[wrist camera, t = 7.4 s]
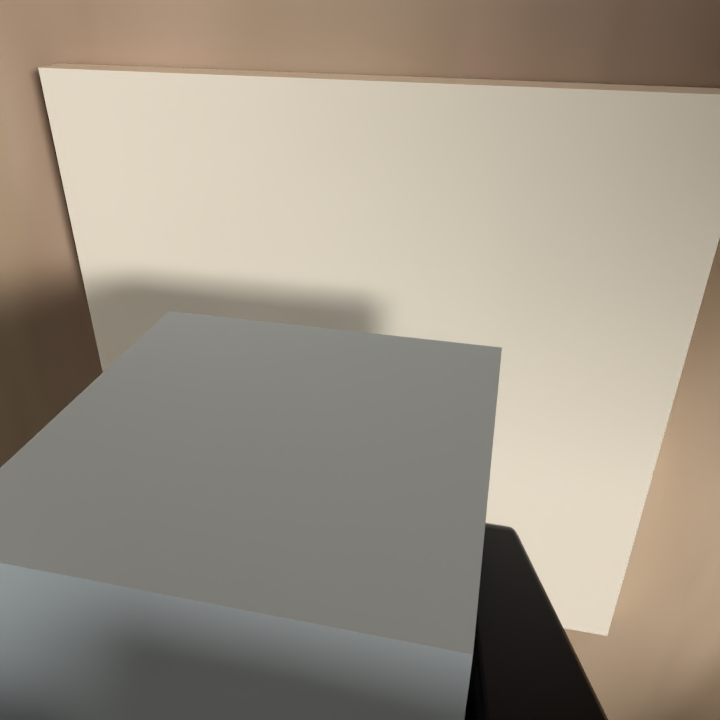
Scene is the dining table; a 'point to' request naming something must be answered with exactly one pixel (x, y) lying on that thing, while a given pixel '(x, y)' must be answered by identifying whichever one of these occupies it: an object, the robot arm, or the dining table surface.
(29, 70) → the dining table surface
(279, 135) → the coaster
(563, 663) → the robot arm
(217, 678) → the slate block
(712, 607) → the dining table surface
